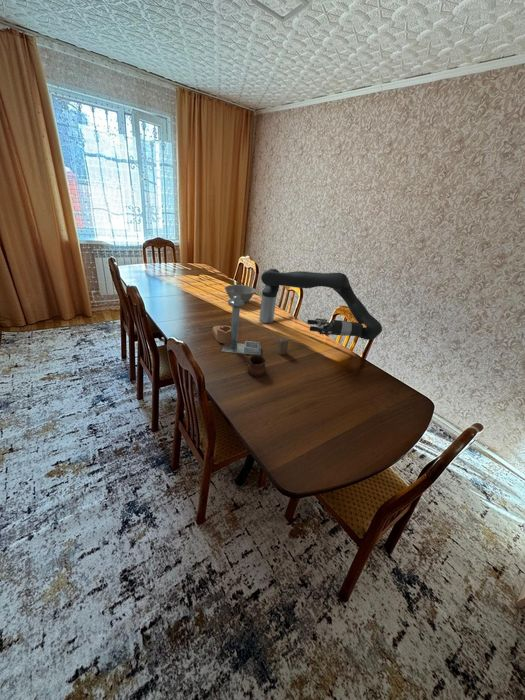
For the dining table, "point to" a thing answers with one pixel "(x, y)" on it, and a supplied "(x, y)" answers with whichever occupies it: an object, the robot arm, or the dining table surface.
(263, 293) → the robot arm
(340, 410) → the dining table surface
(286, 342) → the wooden block
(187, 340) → the dining table surface
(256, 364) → the ceramic pot
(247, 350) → the metal post stand
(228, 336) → the bracket
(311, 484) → the dining table surface
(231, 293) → the ceramic bowl
